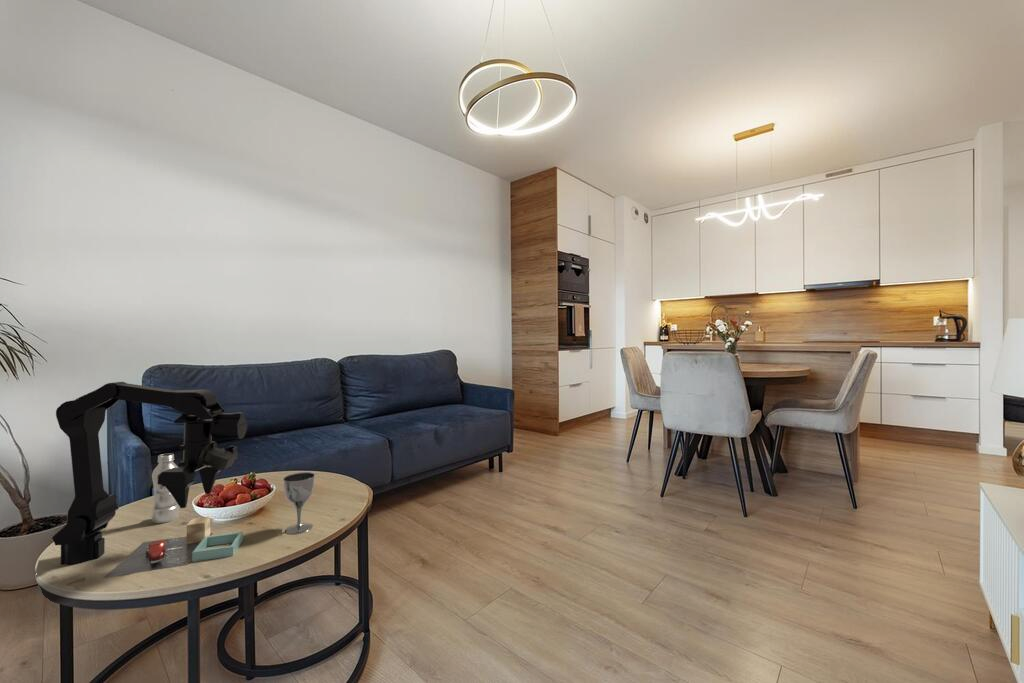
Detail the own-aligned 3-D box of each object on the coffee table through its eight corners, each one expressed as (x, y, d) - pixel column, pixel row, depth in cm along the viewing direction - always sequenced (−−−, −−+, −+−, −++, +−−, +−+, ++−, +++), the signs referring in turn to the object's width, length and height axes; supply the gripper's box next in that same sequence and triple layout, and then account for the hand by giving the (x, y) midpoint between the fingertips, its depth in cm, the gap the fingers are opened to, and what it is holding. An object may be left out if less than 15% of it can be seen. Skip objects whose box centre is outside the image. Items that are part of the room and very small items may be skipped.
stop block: (186, 544, 106) (186, 525, 106) (192, 537, 109) (192, 518, 109) (204, 541, 107) (204, 522, 107) (210, 534, 111) (210, 516, 111)
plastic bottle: (175, 515, 125) (175, 450, 125) (182, 521, 121) (183, 454, 121) (147, 523, 120) (148, 455, 120) (154, 529, 116) (155, 459, 116)
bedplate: (104, 581, 91) (104, 576, 91) (143, 545, 107) (143, 541, 107) (187, 568, 96) (187, 564, 96) (212, 535, 112) (212, 532, 112)
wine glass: (283, 537, 111) (284, 483, 111) (282, 526, 118) (282, 475, 118) (315, 530, 115) (316, 478, 115) (312, 520, 122) (312, 470, 122)
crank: (145, 551, 102) (145, 531, 102) (161, 546, 104) (162, 527, 104) (148, 568, 94) (148, 547, 94) (166, 563, 96) (166, 543, 96)
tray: (192, 565, 97) (192, 552, 97) (205, 548, 105) (205, 536, 105) (233, 558, 100) (233, 546, 100) (242, 542, 108) (242, 531, 108)
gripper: (207, 449, 95) (205, 515, 95) (251, 431, 114) (249, 487, 114) (156, 449, 94) (154, 516, 94) (209, 431, 113) (207, 487, 113)
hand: (196, 500), depth 104 cm, fingers open, 9 cm apart
